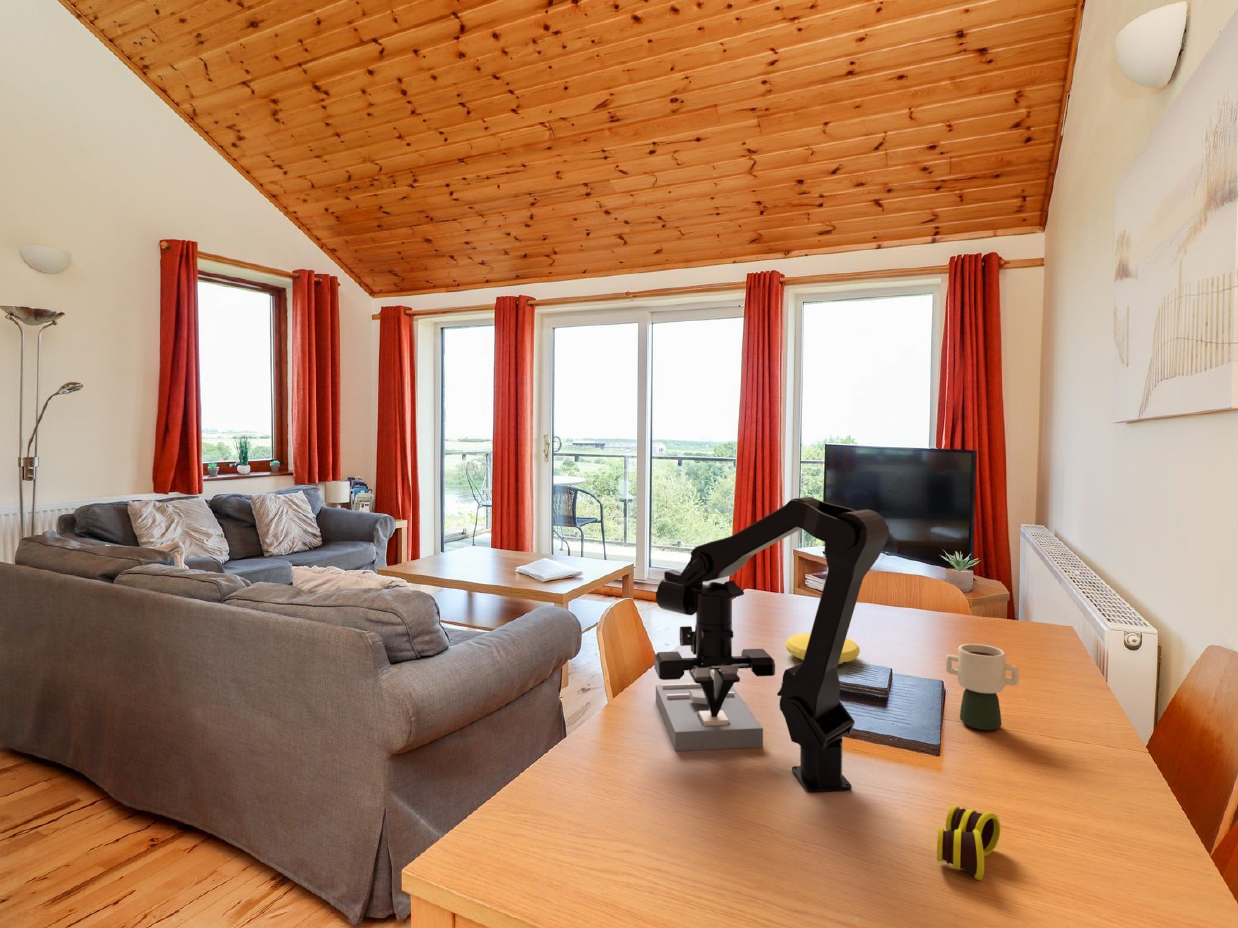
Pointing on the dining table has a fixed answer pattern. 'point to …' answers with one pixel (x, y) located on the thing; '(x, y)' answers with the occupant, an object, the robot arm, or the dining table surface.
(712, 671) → the slide paddle
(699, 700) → the pale grey slab
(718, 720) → the push button
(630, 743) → the dining table surface
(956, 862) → the opera glasses
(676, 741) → the console
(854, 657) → the yellow flattened dome
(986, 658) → the character mug
